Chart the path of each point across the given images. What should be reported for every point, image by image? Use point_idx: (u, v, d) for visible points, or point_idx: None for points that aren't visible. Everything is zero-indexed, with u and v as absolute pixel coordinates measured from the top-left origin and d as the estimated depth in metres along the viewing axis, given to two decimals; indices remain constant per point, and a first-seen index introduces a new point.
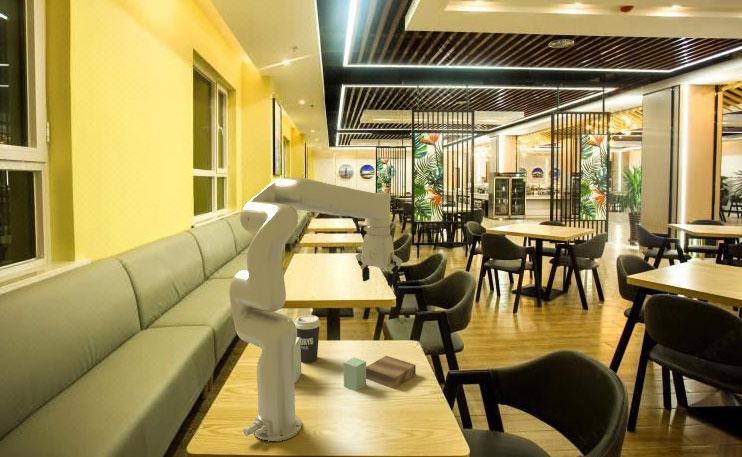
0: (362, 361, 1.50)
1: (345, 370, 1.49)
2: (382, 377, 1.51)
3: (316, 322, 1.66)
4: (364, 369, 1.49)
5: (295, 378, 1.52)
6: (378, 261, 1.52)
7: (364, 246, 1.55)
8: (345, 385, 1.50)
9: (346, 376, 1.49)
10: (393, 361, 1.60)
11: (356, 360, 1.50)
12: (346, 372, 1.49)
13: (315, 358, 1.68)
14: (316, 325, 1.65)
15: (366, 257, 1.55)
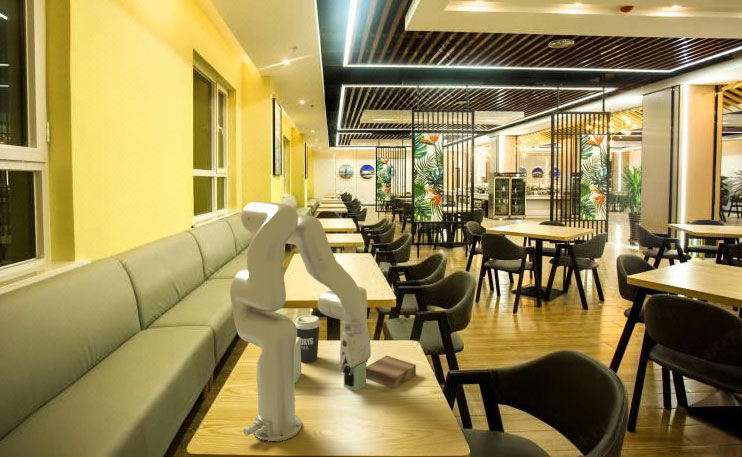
0: None
1: None
2: (382, 377, 1.51)
3: (316, 322, 1.66)
4: (364, 369, 1.49)
5: (295, 378, 1.52)
6: (365, 355, 1.49)
7: (353, 347, 1.44)
8: (345, 385, 1.50)
9: None
10: (394, 361, 1.60)
11: None
12: None
13: (315, 358, 1.68)
14: (316, 325, 1.65)
15: (355, 358, 1.45)
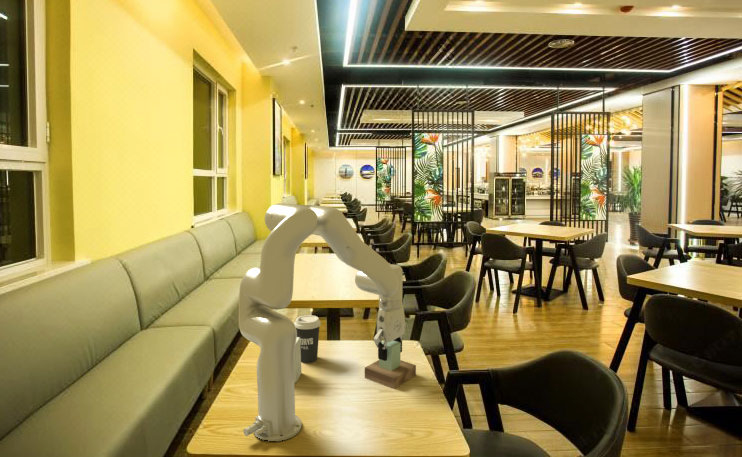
0: (397, 342, 1.55)
1: None
2: (381, 377, 1.51)
3: (316, 322, 1.66)
4: (399, 350, 1.55)
5: (295, 378, 1.52)
6: (400, 331, 1.54)
7: (390, 323, 1.49)
8: (380, 365, 1.55)
9: None
10: None
11: (391, 341, 1.56)
12: None
13: (315, 358, 1.68)
14: (316, 325, 1.65)
15: (392, 333, 1.50)
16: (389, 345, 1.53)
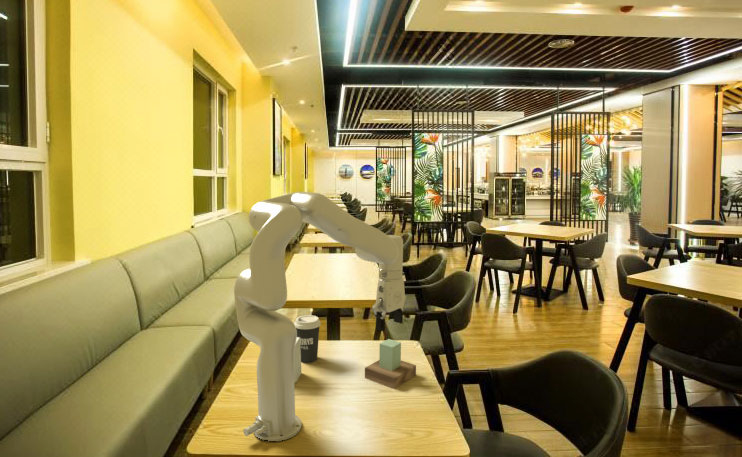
0: (397, 342, 1.55)
1: (381, 351, 1.55)
2: (382, 378, 1.51)
3: (316, 322, 1.66)
4: (399, 350, 1.55)
5: (295, 378, 1.52)
6: (400, 303, 1.52)
7: (390, 293, 1.48)
8: (381, 365, 1.55)
9: (382, 356, 1.55)
10: None
11: (391, 341, 1.56)
12: (382, 353, 1.54)
13: (315, 358, 1.68)
14: (316, 325, 1.65)
15: (391, 303, 1.49)
16: (389, 345, 1.53)
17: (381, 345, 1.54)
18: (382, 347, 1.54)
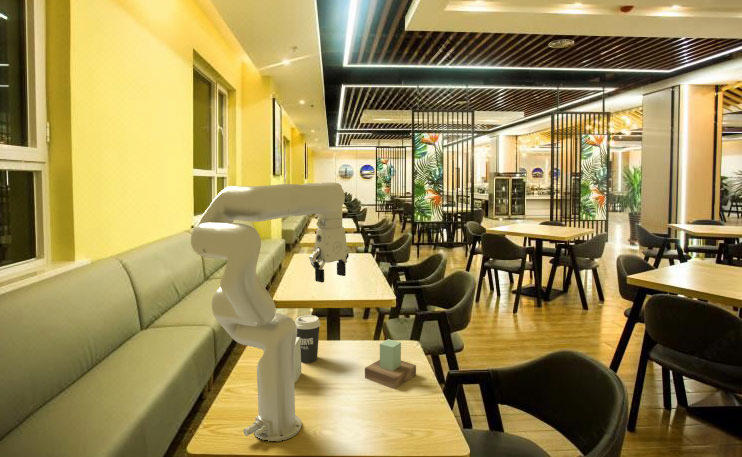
0: (397, 342, 1.56)
1: (381, 351, 1.55)
2: (382, 378, 1.51)
3: (316, 322, 1.66)
4: (399, 350, 1.55)
5: (295, 378, 1.52)
6: (341, 253, 1.46)
7: (328, 242, 1.41)
8: (381, 366, 1.55)
9: (382, 356, 1.54)
10: None
11: (391, 341, 1.56)
12: (382, 353, 1.54)
13: (315, 358, 1.68)
14: (316, 325, 1.65)
15: (330, 253, 1.42)
16: (390, 345, 1.53)
17: (381, 345, 1.54)
18: (382, 347, 1.54)
